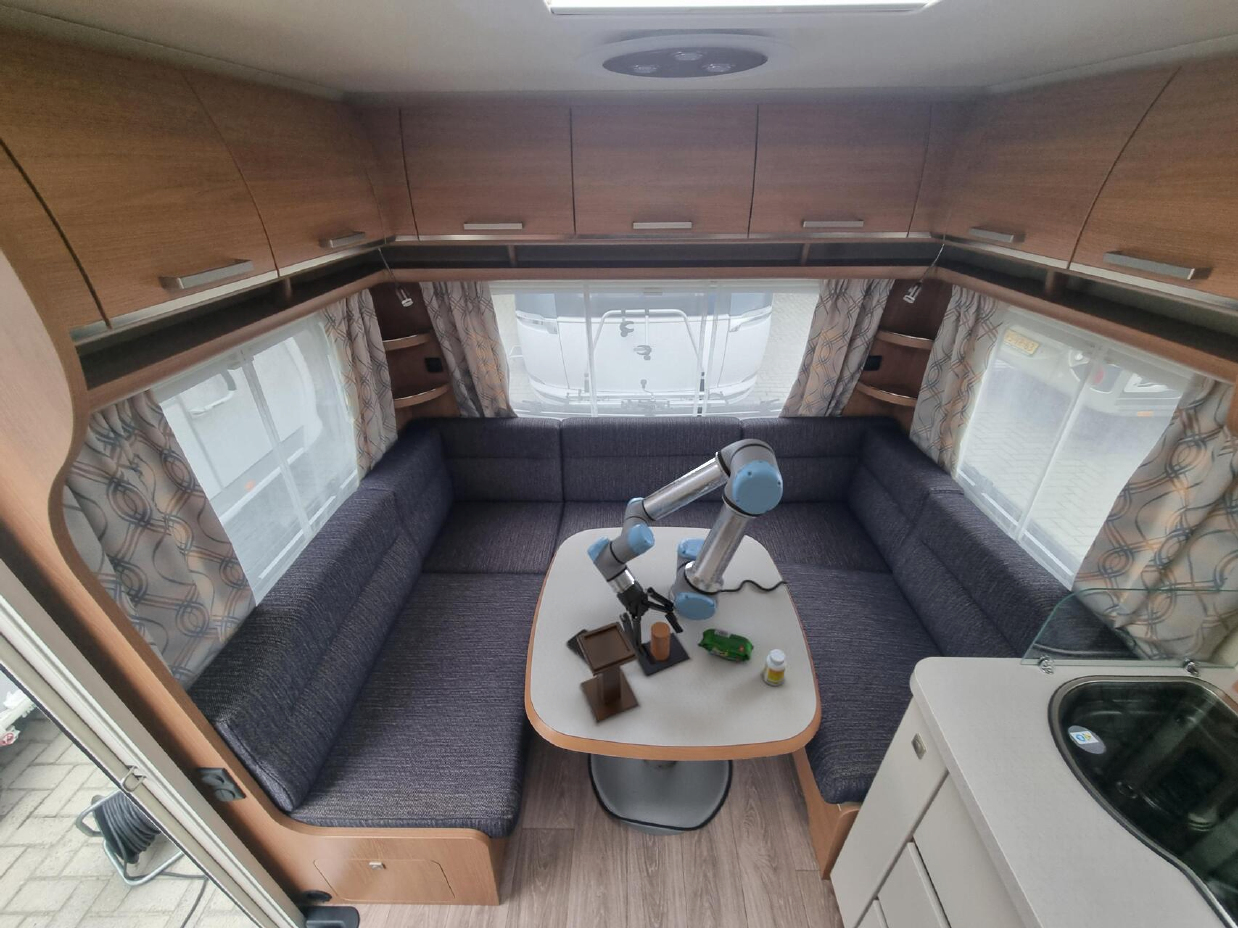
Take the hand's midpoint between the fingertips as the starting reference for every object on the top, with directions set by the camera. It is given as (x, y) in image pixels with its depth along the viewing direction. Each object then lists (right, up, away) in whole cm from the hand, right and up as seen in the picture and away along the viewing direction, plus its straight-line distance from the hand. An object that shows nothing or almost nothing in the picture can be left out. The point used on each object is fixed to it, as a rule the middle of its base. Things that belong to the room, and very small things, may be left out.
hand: (667, 647), depth 141 cm
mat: (-2, -3, +4) cm, 5 cm away
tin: (-2, -3, +3) cm, 5 cm away
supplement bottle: (+29, -7, -4) cm, 30 cm away
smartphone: (-22, -3, +5) cm, 23 cm away
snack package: (+18, -3, +4) cm, 18 cm away
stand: (-17, -10, -8) cm, 21 cm away
